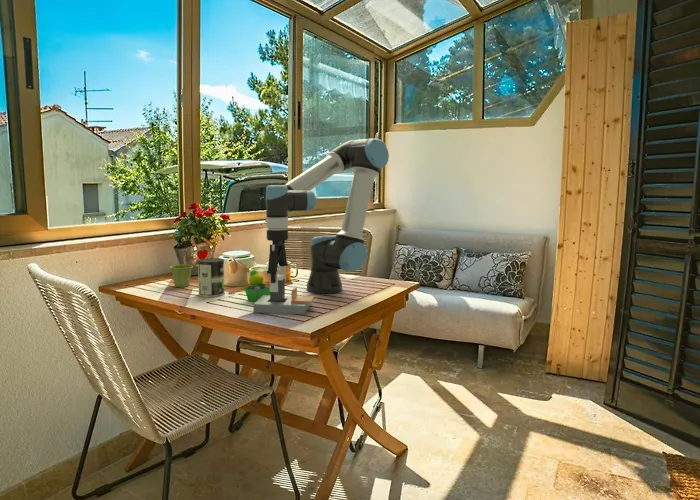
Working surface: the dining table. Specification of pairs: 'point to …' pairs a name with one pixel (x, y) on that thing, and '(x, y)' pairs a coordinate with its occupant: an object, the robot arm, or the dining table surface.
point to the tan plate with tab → (300, 297)
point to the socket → (279, 306)
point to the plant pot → (181, 275)
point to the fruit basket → (256, 287)
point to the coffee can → (211, 277)
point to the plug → (279, 291)
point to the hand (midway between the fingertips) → (278, 287)
